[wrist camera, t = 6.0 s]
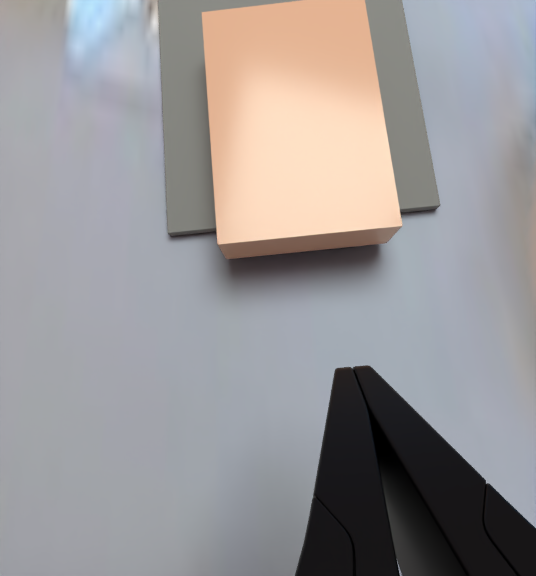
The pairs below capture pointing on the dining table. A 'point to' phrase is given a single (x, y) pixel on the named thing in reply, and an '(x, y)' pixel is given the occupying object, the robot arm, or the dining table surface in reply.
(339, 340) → the dining table surface
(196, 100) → the mat
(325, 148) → the tile
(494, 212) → the dining table surface
